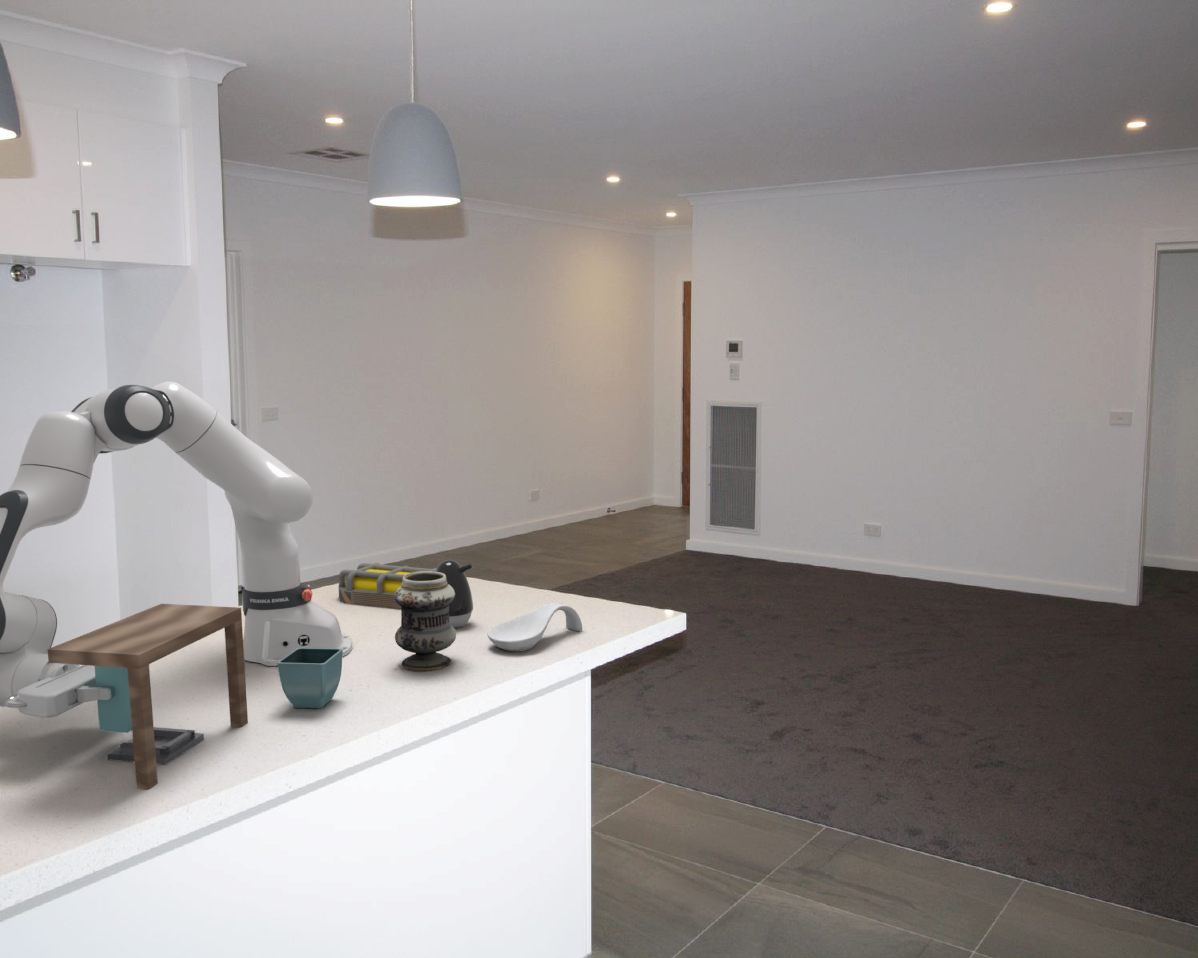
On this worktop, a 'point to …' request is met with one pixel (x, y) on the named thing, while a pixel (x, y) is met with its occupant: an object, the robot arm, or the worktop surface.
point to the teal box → (114, 700)
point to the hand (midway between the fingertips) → (123, 687)
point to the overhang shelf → (147, 643)
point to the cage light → (373, 584)
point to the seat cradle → (161, 745)
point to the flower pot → (310, 676)
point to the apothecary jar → (425, 620)
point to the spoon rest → (530, 627)
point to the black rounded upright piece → (458, 592)
